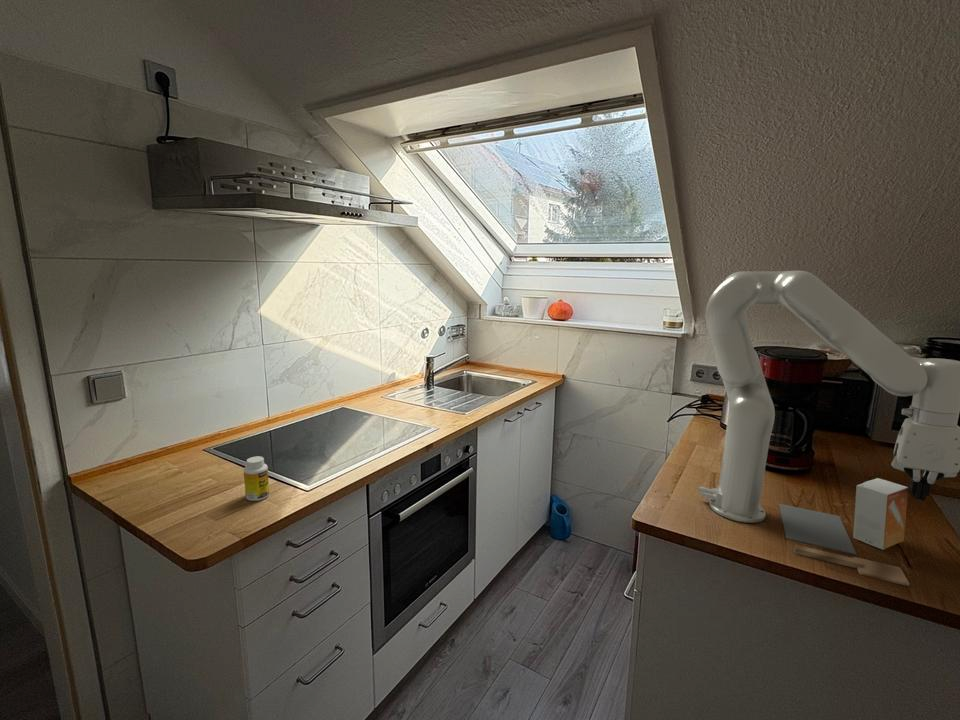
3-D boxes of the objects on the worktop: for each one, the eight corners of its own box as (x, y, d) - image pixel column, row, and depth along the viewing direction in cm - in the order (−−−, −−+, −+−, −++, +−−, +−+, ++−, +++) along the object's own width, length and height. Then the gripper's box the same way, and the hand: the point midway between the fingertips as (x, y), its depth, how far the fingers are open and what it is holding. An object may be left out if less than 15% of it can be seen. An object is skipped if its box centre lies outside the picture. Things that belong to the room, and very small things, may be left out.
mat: (786, 538, 111) (786, 537, 111) (778, 504, 127) (779, 503, 127) (856, 554, 106) (856, 553, 106) (839, 517, 122) (839, 516, 122)
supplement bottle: (261, 503, 121) (258, 464, 119) (240, 500, 122) (237, 462, 120) (274, 492, 127) (271, 455, 125) (254, 490, 127) (251, 454, 125)
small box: (883, 551, 107) (887, 494, 105) (852, 538, 112) (855, 484, 110) (905, 541, 110) (909, 486, 108) (873, 529, 116) (876, 477, 114)
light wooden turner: (795, 558, 104) (796, 553, 104) (792, 544, 109) (793, 539, 109) (909, 586, 96) (910, 581, 95) (899, 569, 101) (900, 564, 101)
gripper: (893, 417, 103) (879, 497, 106) (989, 427, 96) (970, 512, 100) (883, 407, 109) (870, 483, 113) (972, 417, 103) (955, 497, 107)
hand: (917, 497), depth 106 cm, fingers closed
